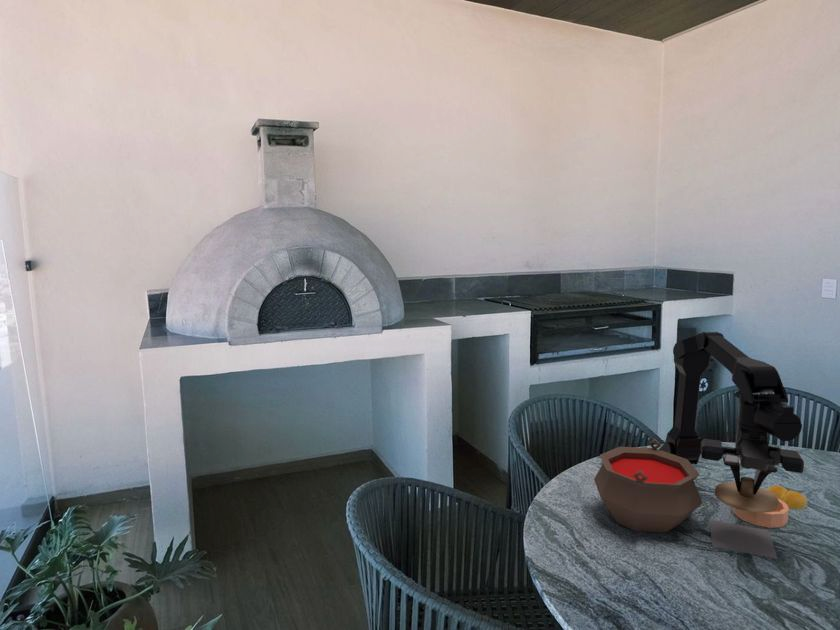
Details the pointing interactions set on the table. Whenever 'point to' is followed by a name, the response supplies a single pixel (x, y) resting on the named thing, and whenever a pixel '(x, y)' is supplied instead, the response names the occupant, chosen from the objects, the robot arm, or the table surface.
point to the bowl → (766, 516)
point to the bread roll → (789, 497)
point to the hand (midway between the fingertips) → (746, 492)
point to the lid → (746, 496)
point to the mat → (742, 539)
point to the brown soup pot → (647, 487)
